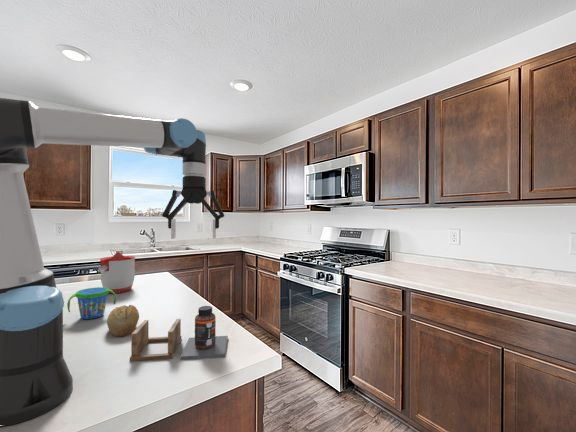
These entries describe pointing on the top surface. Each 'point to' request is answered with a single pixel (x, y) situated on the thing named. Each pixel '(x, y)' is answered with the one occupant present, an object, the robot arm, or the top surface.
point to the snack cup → (91, 302)
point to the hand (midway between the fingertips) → (194, 238)
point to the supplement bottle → (205, 328)
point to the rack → (141, 340)
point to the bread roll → (123, 320)
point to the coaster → (214, 351)
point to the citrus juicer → (117, 272)
